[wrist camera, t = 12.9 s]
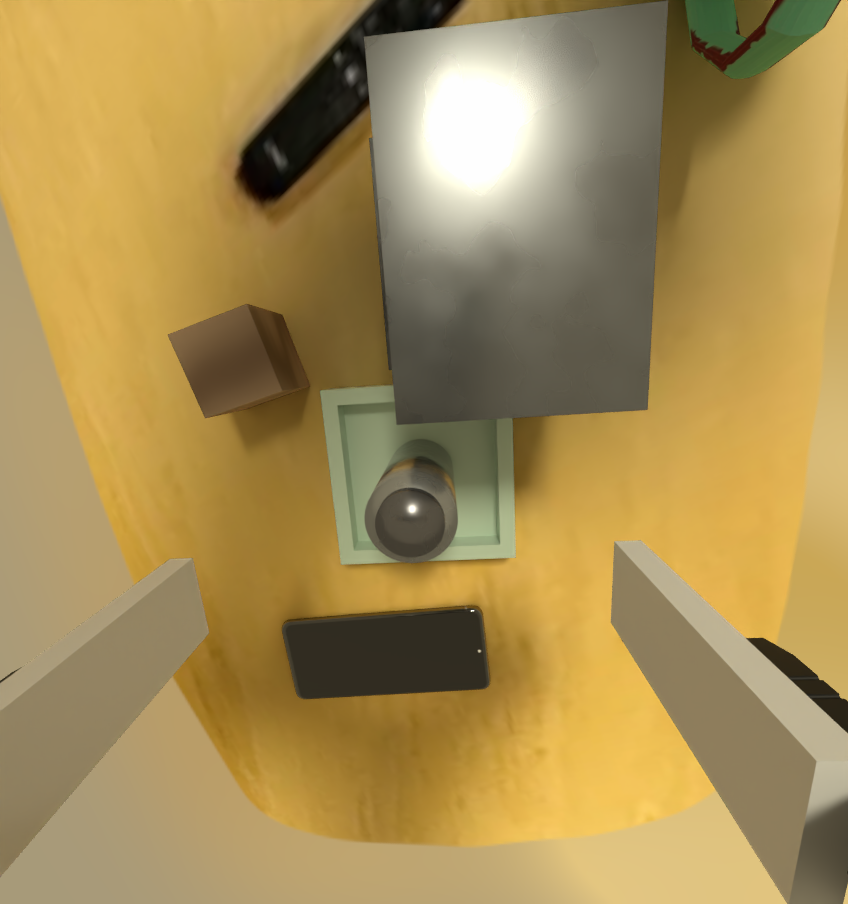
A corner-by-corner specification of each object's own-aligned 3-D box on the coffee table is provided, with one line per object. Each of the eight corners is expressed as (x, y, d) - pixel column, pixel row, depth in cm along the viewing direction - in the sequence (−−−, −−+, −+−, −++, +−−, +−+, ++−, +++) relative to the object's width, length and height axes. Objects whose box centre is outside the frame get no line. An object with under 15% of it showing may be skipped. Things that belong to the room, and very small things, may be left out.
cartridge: (386, 441, 27) (357, 481, 18) (451, 437, 27) (455, 476, 17) (392, 502, 28) (366, 571, 19) (454, 499, 28) (460, 567, 18)
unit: (399, 204, 25) (354, 38, 12) (559, 189, 24) (687, -2, 12) (413, 397, 27) (388, 425, 15) (559, 387, 27) (663, 408, 14)
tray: (330, 388, 28) (319, 390, 25) (505, 376, 27) (511, 377, 24) (349, 548, 30) (341, 564, 28) (509, 541, 29) (515, 557, 27)
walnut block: (216, 340, 27) (167, 334, 22) (282, 315, 27) (246, 303, 22) (246, 409, 28) (205, 418, 23) (310, 386, 28) (282, 390, 23)
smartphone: (278, 623, 31) (482, 608, 30) (284, 615, 32) (481, 600, 31) (296, 702, 33) (491, 691, 31) (301, 691, 34) (490, 681, 32)
